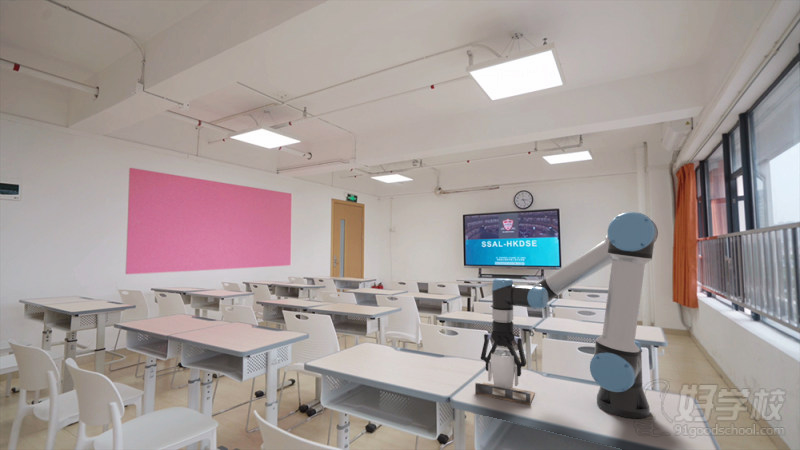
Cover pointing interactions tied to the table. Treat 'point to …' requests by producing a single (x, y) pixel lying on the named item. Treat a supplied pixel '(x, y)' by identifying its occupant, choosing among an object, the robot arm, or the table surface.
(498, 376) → the cup
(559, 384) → the table surface
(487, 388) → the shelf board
